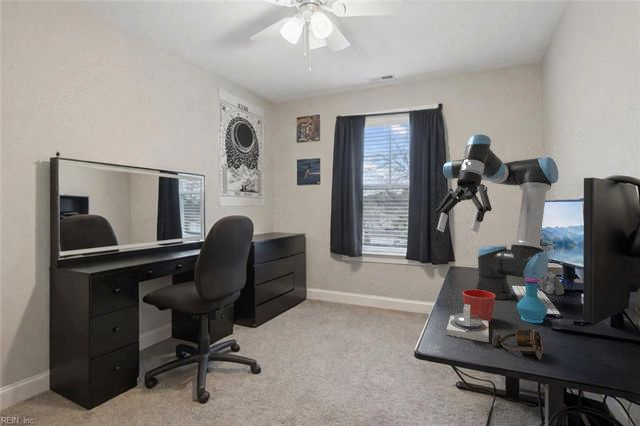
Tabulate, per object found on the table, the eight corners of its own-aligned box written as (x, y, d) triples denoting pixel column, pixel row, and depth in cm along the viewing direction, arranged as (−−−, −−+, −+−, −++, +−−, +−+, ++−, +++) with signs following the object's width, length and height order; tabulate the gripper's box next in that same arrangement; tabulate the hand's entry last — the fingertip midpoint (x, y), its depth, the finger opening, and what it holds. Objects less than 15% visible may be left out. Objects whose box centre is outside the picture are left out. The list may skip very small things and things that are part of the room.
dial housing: (450, 320, 111) (450, 314, 111) (488, 326, 105) (488, 319, 105) (446, 335, 98) (446, 327, 98) (488, 342, 93) (488, 334, 92)
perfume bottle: (543, 317, 113) (543, 277, 112) (550, 326, 104) (550, 282, 104) (514, 313, 116) (514, 275, 116) (519, 322, 108) (518, 280, 108)
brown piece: (529, 345, 79) (553, 330, 82) (485, 324, 90) (507, 312, 94) (531, 369, 80) (553, 353, 84) (487, 345, 92) (508, 332, 95)
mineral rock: (534, 287, 154) (534, 267, 154) (561, 290, 148) (561, 269, 148) (535, 293, 143) (535, 272, 143) (564, 296, 137) (564, 274, 137)
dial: (455, 317, 107) (455, 297, 107) (482, 321, 103) (482, 301, 103) (452, 329, 97) (451, 308, 96) (481, 334, 92) (481, 312, 92)
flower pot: (500, 325, 105) (500, 298, 105) (466, 323, 107) (466, 296, 107) (490, 315, 116) (489, 289, 115) (459, 313, 118) (459, 288, 118)
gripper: (435, 176, 117) (421, 226, 113) (498, 163, 95) (483, 226, 90) (448, 184, 120) (434, 234, 116) (512, 174, 98) (498, 235, 93)
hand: (456, 230), depth 103 cm, fingers open, 13 cm apart
